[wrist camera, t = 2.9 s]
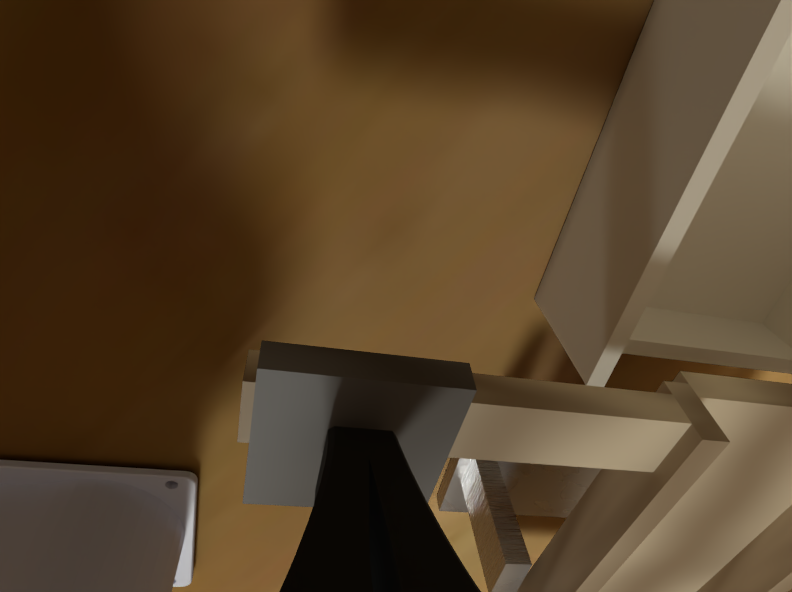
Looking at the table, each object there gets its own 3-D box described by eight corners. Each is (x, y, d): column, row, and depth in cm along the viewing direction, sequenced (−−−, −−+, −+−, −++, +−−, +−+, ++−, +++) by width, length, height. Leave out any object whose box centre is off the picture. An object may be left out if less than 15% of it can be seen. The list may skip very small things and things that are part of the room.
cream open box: (534, 298, 21) (586, 386, 17) (668, -37, 15) (798, -35, 11) (758, 329, 23) (856, 414, 19) (949, 42, 17) (1149, 71, 13)
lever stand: (436, 496, 26) (462, 624, 21) (471, 404, 23) (510, 527, 18) (654, 509, 29) (724, 627, 24) (711, 426, 26) (805, 541, 21)
